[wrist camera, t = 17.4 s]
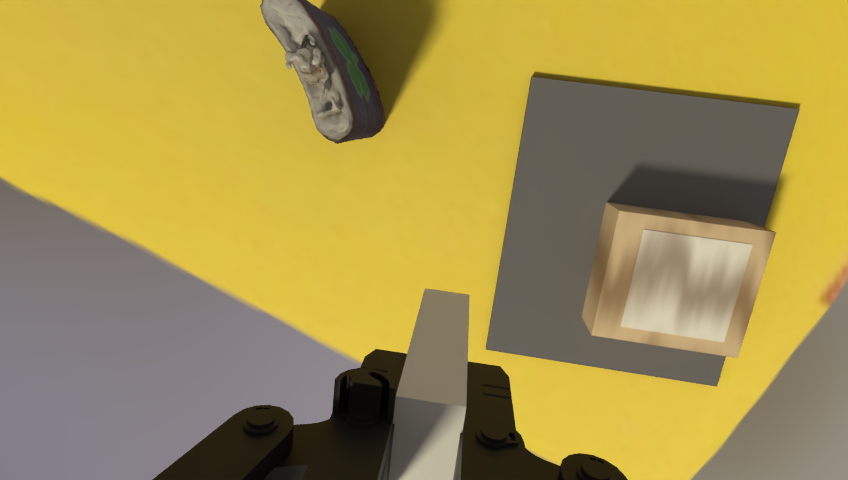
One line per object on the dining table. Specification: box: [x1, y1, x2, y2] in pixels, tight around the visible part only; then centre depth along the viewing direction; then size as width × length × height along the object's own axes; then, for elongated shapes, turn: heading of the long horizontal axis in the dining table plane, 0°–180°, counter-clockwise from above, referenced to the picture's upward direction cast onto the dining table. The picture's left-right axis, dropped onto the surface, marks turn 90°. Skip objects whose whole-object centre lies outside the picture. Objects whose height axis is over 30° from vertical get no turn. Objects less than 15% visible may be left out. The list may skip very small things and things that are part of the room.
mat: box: [486, 77, 799, 386], centre depth 37 cm, size 21×18×1 cm
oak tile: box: [582, 202, 776, 358], centre depth 36 cm, size 9×4×10 cm
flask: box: [260, 0, 385, 144], centre depth 32 cm, size 9×3×11 cm, turn 25°
